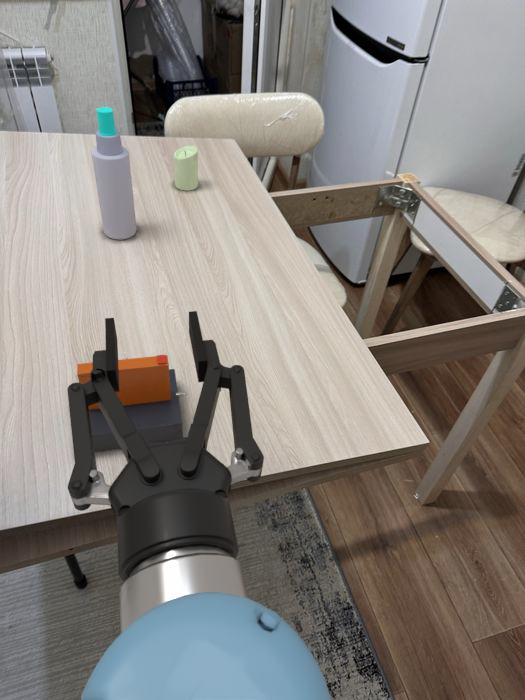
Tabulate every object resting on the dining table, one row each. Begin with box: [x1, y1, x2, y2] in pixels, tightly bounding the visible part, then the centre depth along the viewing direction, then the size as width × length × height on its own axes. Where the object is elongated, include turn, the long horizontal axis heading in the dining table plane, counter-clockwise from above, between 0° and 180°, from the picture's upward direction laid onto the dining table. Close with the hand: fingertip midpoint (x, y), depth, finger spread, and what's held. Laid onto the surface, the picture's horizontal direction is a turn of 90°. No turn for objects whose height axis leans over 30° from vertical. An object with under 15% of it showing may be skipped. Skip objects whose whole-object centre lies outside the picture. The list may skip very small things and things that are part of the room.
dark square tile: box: [67, 357, 188, 453], centre depth 61 cm, size 14×14×4 cm
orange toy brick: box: [76, 354, 171, 410], centre depth 57 cm, size 10×2×7 cm, turn 103°
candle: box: [173, 145, 199, 192], centre depth 104 cm, size 5×5×8 cm
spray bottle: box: [91, 106, 138, 240], centre depth 84 cm, size 6×6×22 cm
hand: (152, 325), depth 46 cm, fingers open, 7 cm apart
